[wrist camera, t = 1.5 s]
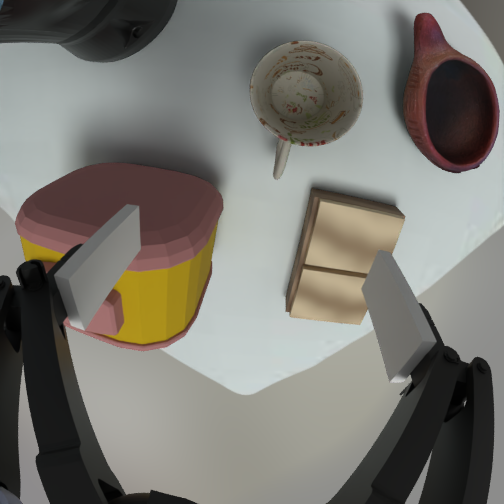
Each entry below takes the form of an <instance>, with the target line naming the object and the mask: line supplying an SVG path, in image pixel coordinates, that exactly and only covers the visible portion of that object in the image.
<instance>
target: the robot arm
mask: <svg viewBox="0 0 504 504" xmlns="http://www.w3.org/2000/svg"><path fill="white" fill-rule="evenodd" d="M176 2H177V0H0V43H18V42H27V43H55V44H59V45H61V46H62V47H64V48H65V49H66V50H68V51H69V52H71V53H72V54H74V55H75V56H77V57H78V58H80V59H83V60H86V61H92V62H113V61H118V60H121V59H124V58H126V57H129V56H131V55H133V54H134V53H136V52H138V51H139V50H141V49H142V48H144V47H145V46H146V45H148V44H149V43H150V42H151V41H152V40H153V39H154V38H155V37H156V36H157V35H158V34H159V33H160V32H161V31H162V29H163V28H164V27H165V25H166V24H167V22H168V21H169V19H170V17H171V16H172V13H173V11H174V9H175V6H176ZM140 250H141V243H140V219H139V206H137V205H130V204H127V205H125V206H124V207H123V208H122V209H121V210H120V211H119V212H117V213H116V214H115V215H114V216H113V217H112V218H111V219H110V220H109V221H107V222H106V223H105V224H104V225H103V226H102V227H101V228H100V229H99V230H98V231H97V232H96V233H95V234H94V235H93V236H92V237H90V238H89V239H88V240H87V241H86V242H85V243H84V244H81V243H80V244H78V245H76V246H74V247H72V248H71V249H70V250H69V251H68V252H67V253H66V254H65V256H63V257H62V258H61V259H60V261H58V262H57V263H56V264H55V265H54V266H53V267H52V268H51V269H50V270H49V271H48V272H47V273H46V271H45V267H44V264H43V262H42V261H41V260H37V259H33V260H28V261H26V262H24V263H23V264H21V265H20V266H19V267H18V268H17V271H16V274H17V277H18V280H19V282H20V285H21V286H18V285H17V286H16V285H12V283H11V280H10V278H9V277H8V276H4V275H2V276H0V504H22V502H21V501H20V468H19V451H18V412H19V395H20V384H21V375H22V367H23V365H24V375H25V383H26V390H27V396H28V402H29V408H30V412H31V418H32V422H33V427H34V431H35V435H36V439H37V443H38V447H39V454H38V455H37V456H36V465H37V470H38V473H39V476H40V479H41V481H42V484H43V487H44V490H45V492H46V495H47V497H48V500H49V502H50V504H197V503H195V502H193V501H190V500H188V499H186V498H181V497H177V496H173V495H169V494H164V493H161V492H157V491H153V490H151V491H150V493H134V494H128V495H126V494H125V492H124V490H123V489H122V487H121V485H120V483H119V481H118V480H117V478H116V476H115V475H114V473H113V472H112V471H111V469H110V467H109V466H108V464H107V462H106V459H105V457H104V455H103V453H102V450H101V448H100V446H99V443H98V441H97V438H96V436H95V433H94V430H93V428H92V425H91V423H90V420H89V417H88V414H87V411H86V408H85V405H84V402H83V399H82V396H81V392H80V389H79V385H78V382H77V378H76V374H75V370H74V366H73V362H72V358H71V354H70V349H69V344H68V340H67V334H66V329H65V325H64V323H63V322H64V320H65V319H66V318H67V316H68V319H69V322H70V324H71V326H73V327H76V328H79V329H81V330H84V331H85V329H86V328H87V326H88V325H89V323H90V322H91V320H92V318H93V317H94V315H95V314H96V312H97V311H98V309H99V308H100V306H101V305H102V303H103V302H104V300H105V299H106V297H107V296H108V294H109V293H110V291H111V290H112V289H113V287H114V286H115V284H116V283H117V281H118V280H119V279H120V277H121V276H122V274H123V273H124V271H125V270H126V269H127V267H128V266H129V265H130V263H131V262H132V261H133V259H134V258H135V256H136V255H137V254H138V252H139V251H140ZM361 290H362V293H363V295H364V298H365V301H366V304H367V307H368V310H369V313H370V317H371V320H372V323H373V326H374V329H375V332H376V335H377V339H378V342H379V346H380V349H381V353H382V356H383V360H384V364H385V367H386V371H387V375H388V379H389V382H404V381H405V379H406V378H407V377H408V376H409V375H411V378H412V381H411V383H410V384H409V385H408V386H407V387H406V388H405V389H404V390H403V391H402V392H401V393H400V395H402V394H403V393H404V394H403V396H402V398H401V400H400V402H399V404H398V405H397V407H396V409H395V411H394V412H393V414H392V416H391V417H390V419H389V421H388V423H387V424H386V426H385V428H384V429H383V431H382V432H381V434H380V435H379V437H378V439H377V440H376V442H375V443H374V445H373V446H372V448H371V449H370V450H369V452H368V453H367V455H366V456H365V458H364V459H363V460H362V462H361V463H360V465H359V466H358V467H357V469H356V470H355V471H354V473H353V474H352V475H351V476H350V478H349V479H348V480H347V482H346V483H345V484H344V485H343V486H342V488H341V489H340V490H339V492H338V493H337V494H336V495H335V496H334V497H333V498H332V499H331V500H330V501H329V502H328V503H326V504H405V502H406V499H407V498H408V496H409V494H410V493H411V491H412V489H413V487H414V485H415V484H416V482H417V480H418V478H419V476H420V474H421V472H422V470H423V468H424V466H425V464H426V462H427V460H428V458H429V456H430V453H431V451H432V455H431V459H430V464H429V468H428V472H427V476H426V480H425V483H424V488H423V491H422V494H421V498H420V500H419V504H487V499H488V493H489V487H490V480H491V472H492V462H493V449H494V447H493V446H494V400H493V385H492V374H491V369H490V367H489V365H488V363H487V362H486V361H485V360H484V359H482V358H480V357H475V358H474V359H473V360H472V362H471V363H470V364H469V363H466V362H463V361H461V360H460V357H459V355H458V354H457V352H456V351H455V350H454V349H452V348H450V347H448V346H444V343H443V341H442V339H441V337H440V335H439V333H438V331H437V329H436V327H435V326H434V325H435V324H434V322H433V320H431V316H430V314H429V312H428V311H427V309H425V307H424V306H423V305H422V304H421V303H418V301H417V300H416V298H415V296H414V294H413V292H412V290H411V288H410V286H409V284H408V283H407V281H406V279H405V277H404V275H403V274H402V272H401V270H400V268H399V266H398V265H397V263H396V261H395V260H394V258H393V256H392V254H391V253H390V252H387V251H383V250H378V252H377V255H376V257H375V259H374V262H373V264H372V266H371V268H370V271H369V273H368V275H367V277H366V279H365V282H364V284H363V286H362V288H361ZM465 401H466V404H465V406H464V402H465Z"/></svg>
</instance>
